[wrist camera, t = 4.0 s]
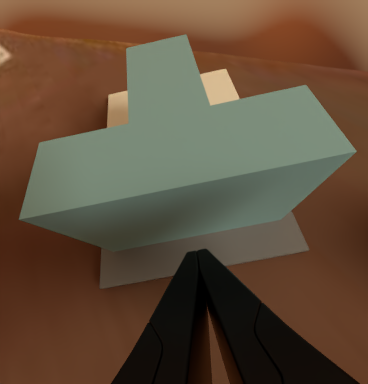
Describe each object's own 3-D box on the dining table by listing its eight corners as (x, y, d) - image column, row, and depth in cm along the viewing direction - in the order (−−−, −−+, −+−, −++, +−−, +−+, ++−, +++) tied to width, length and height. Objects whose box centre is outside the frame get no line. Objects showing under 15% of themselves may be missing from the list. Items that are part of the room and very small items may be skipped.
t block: (280, 219, 14) (356, 151, 7) (113, 251, 14) (18, 219, 7) (237, 118, 19) (255, 18, 12) (115, 144, 19) (60, 63, 12)
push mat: (304, 251, 13) (309, 249, 13) (105, 288, 14) (99, 288, 13) (225, 75, 23) (225, 68, 23) (111, 100, 24) (108, 94, 23)
